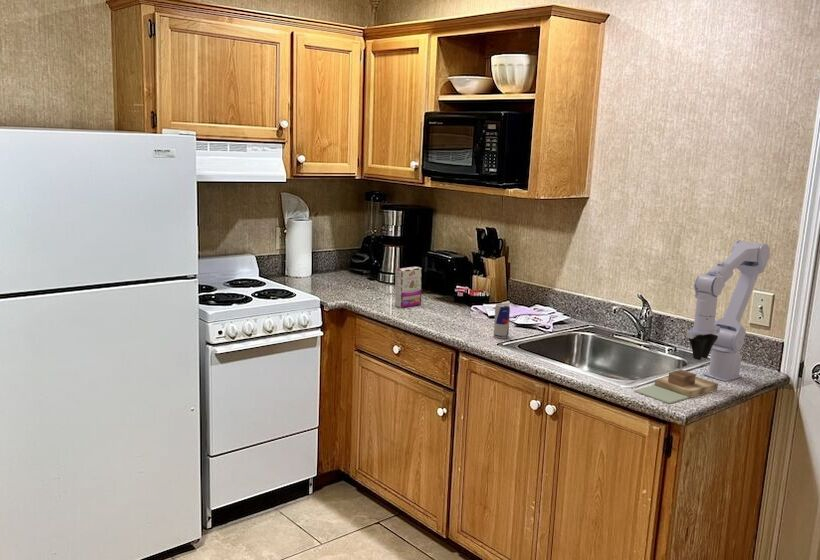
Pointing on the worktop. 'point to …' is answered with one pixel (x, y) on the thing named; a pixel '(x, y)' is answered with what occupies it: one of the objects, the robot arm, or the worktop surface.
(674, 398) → the sage mat
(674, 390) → the birch board
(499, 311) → the energy drink
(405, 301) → the candy bar box
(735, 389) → the worktop surface
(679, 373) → the walnut block
